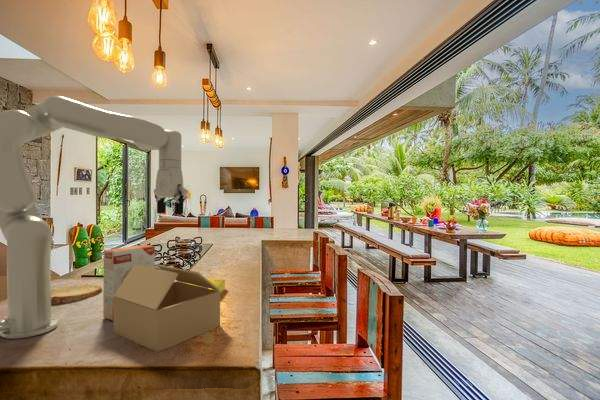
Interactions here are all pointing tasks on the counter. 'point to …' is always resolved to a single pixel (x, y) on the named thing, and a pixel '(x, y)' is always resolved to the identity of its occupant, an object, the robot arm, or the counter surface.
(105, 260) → the cracker box
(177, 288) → the carton
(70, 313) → the counter surface
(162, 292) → the flap arm side
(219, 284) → the element tile
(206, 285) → the flap far
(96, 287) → the slice of bread
